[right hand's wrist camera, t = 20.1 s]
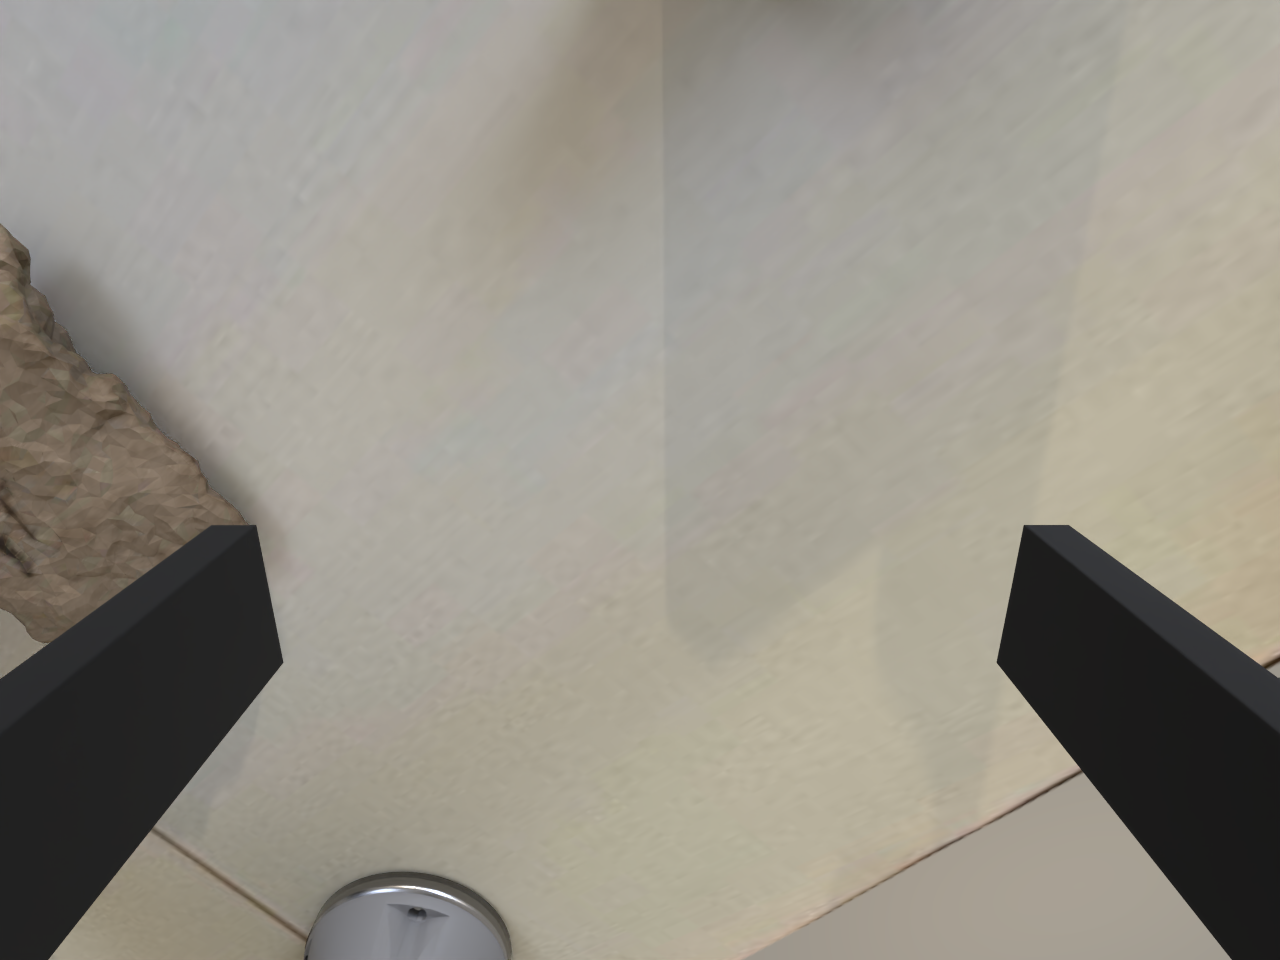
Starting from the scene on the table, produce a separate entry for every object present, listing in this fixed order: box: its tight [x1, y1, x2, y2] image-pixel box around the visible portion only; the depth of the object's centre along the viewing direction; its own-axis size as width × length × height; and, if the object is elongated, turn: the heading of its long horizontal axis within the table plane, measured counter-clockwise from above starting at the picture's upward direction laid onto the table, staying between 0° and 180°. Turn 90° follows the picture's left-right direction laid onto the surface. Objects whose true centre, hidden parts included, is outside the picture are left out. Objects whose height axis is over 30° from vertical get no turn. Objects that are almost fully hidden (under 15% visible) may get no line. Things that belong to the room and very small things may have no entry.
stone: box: [0, 224, 249, 643], centre depth 40 cm, size 21×15×6 cm
